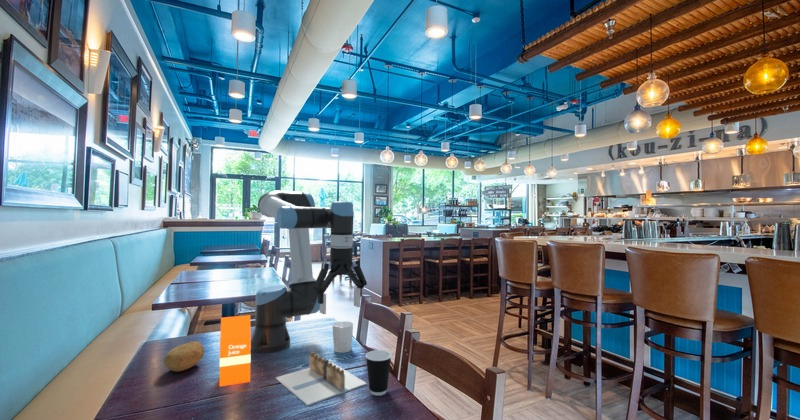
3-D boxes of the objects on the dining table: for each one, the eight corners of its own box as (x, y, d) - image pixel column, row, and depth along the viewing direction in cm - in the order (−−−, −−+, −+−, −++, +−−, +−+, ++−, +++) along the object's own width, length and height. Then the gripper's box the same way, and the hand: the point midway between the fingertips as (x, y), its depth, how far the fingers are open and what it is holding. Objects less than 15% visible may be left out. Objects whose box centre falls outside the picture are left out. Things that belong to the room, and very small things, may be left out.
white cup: (348, 354, 139) (349, 327, 139) (329, 352, 140) (329, 326, 140) (355, 347, 146) (355, 321, 147) (336, 345, 148) (337, 320, 148)
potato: (153, 376, 119) (154, 351, 119) (187, 360, 132) (187, 337, 132) (179, 379, 116) (179, 354, 117) (211, 362, 130) (211, 339, 130)
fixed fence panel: (323, 379, 117) (323, 360, 117) (326, 378, 118) (327, 359, 118) (340, 391, 109) (341, 371, 109) (344, 390, 110) (345, 370, 110)
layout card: (275, 378, 118) (275, 377, 118) (330, 362, 131) (330, 361, 131) (307, 406, 101) (307, 404, 101) (366, 384, 114) (366, 383, 114)
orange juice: (220, 376, 119) (221, 314, 119) (249, 372, 122) (250, 312, 123) (219, 386, 112) (220, 321, 112) (250, 381, 115) (251, 318, 116)
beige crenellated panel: (325, 375, 118) (326, 359, 119) (322, 376, 118) (322, 360, 118) (312, 366, 125) (312, 351, 125) (309, 367, 124) (309, 352, 125)
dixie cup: (359, 391, 110) (359, 354, 110) (379, 383, 115) (380, 347, 115) (376, 401, 104) (376, 362, 104) (397, 392, 109) (397, 355, 109)
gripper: (313, 250, 113) (312, 319, 113) (377, 246, 130) (376, 305, 130) (302, 248, 119) (301, 313, 119) (364, 244, 135) (363, 301, 135)
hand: (340, 309), depth 124 cm, fingers open, 13 cm apart
